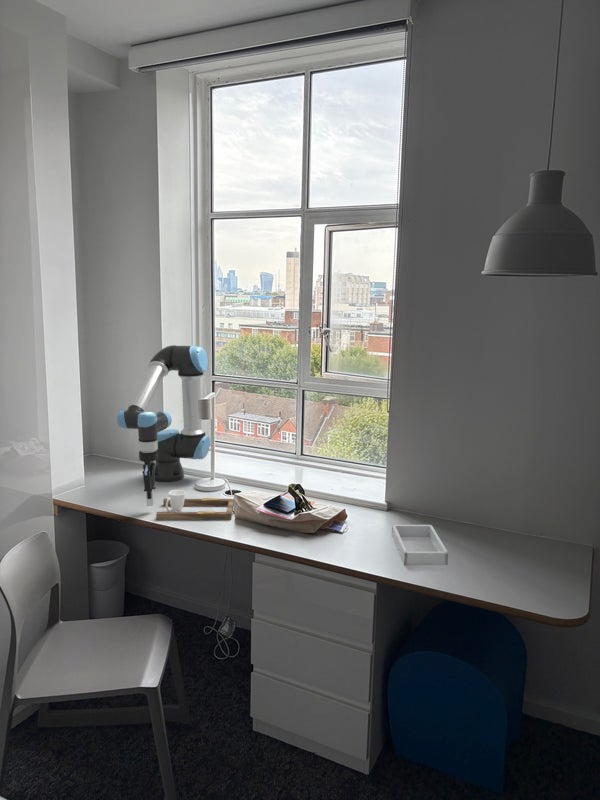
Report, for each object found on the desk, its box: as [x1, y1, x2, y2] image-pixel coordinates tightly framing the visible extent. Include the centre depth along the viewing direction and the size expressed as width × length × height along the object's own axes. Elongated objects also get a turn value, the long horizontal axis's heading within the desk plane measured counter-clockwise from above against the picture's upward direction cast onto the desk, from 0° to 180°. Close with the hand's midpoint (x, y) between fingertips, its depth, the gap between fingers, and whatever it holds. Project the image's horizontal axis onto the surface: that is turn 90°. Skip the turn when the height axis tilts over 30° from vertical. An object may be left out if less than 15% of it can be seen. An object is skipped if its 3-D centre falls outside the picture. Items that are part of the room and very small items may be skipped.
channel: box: [155, 497, 235, 521], centre depth 255 cm, size 17×30×3 cm, turn 92°
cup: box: [165, 489, 186, 512], centre depth 254 cm, size 7×10×8 cm
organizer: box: [391, 524, 449, 566], centre depth 221 cm, size 24×15×4 cm, turn 2°
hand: (150, 505), depth 254 cm, fingers closed
